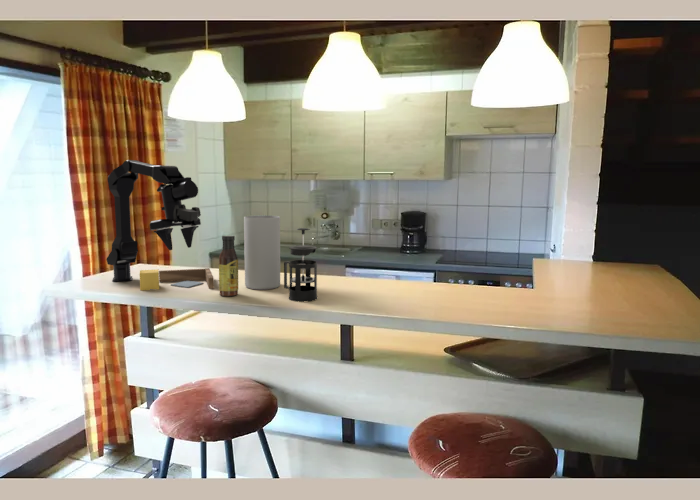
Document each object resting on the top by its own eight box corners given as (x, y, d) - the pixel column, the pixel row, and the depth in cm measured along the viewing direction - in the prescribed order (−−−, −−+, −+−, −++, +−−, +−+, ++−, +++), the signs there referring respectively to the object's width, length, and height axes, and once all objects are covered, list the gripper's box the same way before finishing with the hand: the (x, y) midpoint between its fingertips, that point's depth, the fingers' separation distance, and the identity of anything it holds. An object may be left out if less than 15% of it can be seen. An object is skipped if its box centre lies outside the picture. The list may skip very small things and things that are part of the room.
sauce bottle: (233, 297, 167) (232, 237, 164) (215, 296, 168) (214, 236, 165) (241, 293, 174) (240, 234, 171) (224, 292, 175) (223, 234, 172)
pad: (170, 285, 184) (170, 284, 183) (186, 281, 191) (186, 280, 191) (187, 288, 180) (187, 286, 180) (203, 283, 187) (203, 282, 187)
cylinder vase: (274, 281, 193) (273, 215, 189) (284, 288, 182) (284, 217, 178) (241, 284, 188) (240, 215, 184) (250, 291, 176) (249, 218, 173)
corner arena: (159, 281, 191) (159, 270, 190) (209, 278, 197) (209, 268, 196) (158, 291, 174) (158, 280, 173) (213, 288, 180) (213, 277, 179)
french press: (323, 296, 171) (324, 227, 167) (313, 303, 162) (313, 230, 159) (290, 293, 174) (290, 225, 171) (279, 299, 165) (278, 228, 162)
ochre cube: (141, 286, 181) (140, 270, 180) (159, 285, 183) (158, 269, 182) (140, 290, 176) (139, 273, 175) (159, 289, 178) (158, 272, 177)
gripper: (171, 198, 161) (180, 248, 161) (209, 198, 178) (217, 243, 178) (144, 204, 165) (153, 252, 166) (184, 204, 182) (191, 247, 183)
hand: (180, 248), depth 173 cm, fingers open, 9 cm apart
